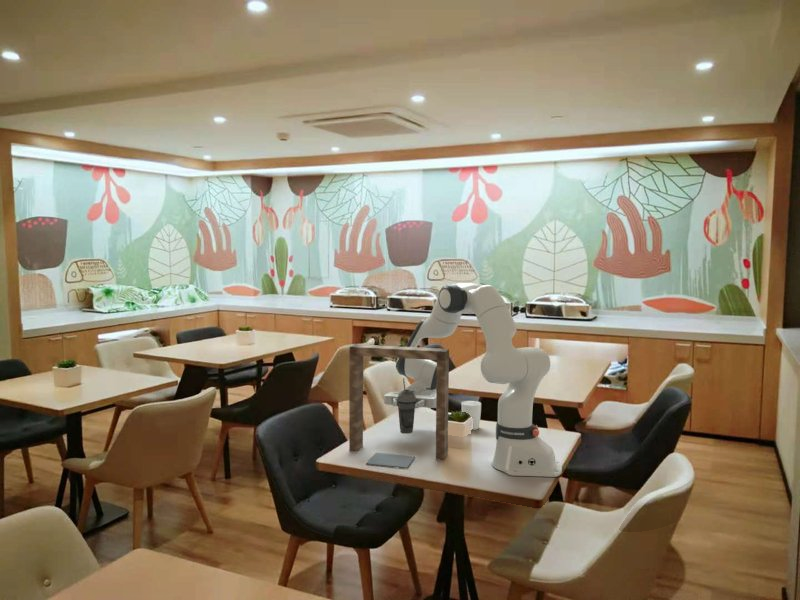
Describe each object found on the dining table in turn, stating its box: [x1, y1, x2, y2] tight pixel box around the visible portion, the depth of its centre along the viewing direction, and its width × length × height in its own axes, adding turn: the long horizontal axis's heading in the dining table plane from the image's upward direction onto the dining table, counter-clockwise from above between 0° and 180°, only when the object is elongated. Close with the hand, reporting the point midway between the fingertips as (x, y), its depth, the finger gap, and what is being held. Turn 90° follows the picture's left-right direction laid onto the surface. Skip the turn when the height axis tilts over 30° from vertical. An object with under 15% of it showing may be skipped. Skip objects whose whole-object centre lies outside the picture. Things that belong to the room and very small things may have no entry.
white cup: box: [461, 400, 482, 431], centre depth 240 cm, size 8×8×10 cm
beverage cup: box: [397, 377, 416, 435], centre depth 219 cm, size 7×7×20 cm
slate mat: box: [365, 452, 416, 469], centre depth 201 cm, size 14×11×1 cm
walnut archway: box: [348, 343, 450, 461], centre depth 208 cm, size 34×6×37 cm, turn 75°
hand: (405, 404), depth 218 cm, fingers closed on beverage cup, 7 cm apart
